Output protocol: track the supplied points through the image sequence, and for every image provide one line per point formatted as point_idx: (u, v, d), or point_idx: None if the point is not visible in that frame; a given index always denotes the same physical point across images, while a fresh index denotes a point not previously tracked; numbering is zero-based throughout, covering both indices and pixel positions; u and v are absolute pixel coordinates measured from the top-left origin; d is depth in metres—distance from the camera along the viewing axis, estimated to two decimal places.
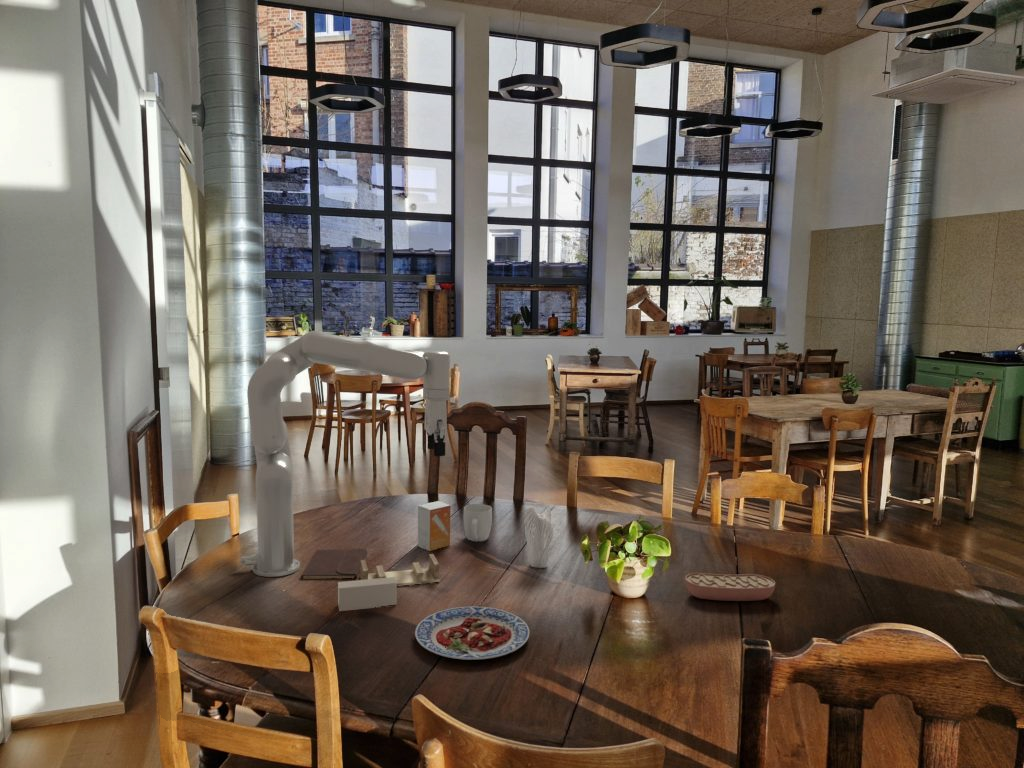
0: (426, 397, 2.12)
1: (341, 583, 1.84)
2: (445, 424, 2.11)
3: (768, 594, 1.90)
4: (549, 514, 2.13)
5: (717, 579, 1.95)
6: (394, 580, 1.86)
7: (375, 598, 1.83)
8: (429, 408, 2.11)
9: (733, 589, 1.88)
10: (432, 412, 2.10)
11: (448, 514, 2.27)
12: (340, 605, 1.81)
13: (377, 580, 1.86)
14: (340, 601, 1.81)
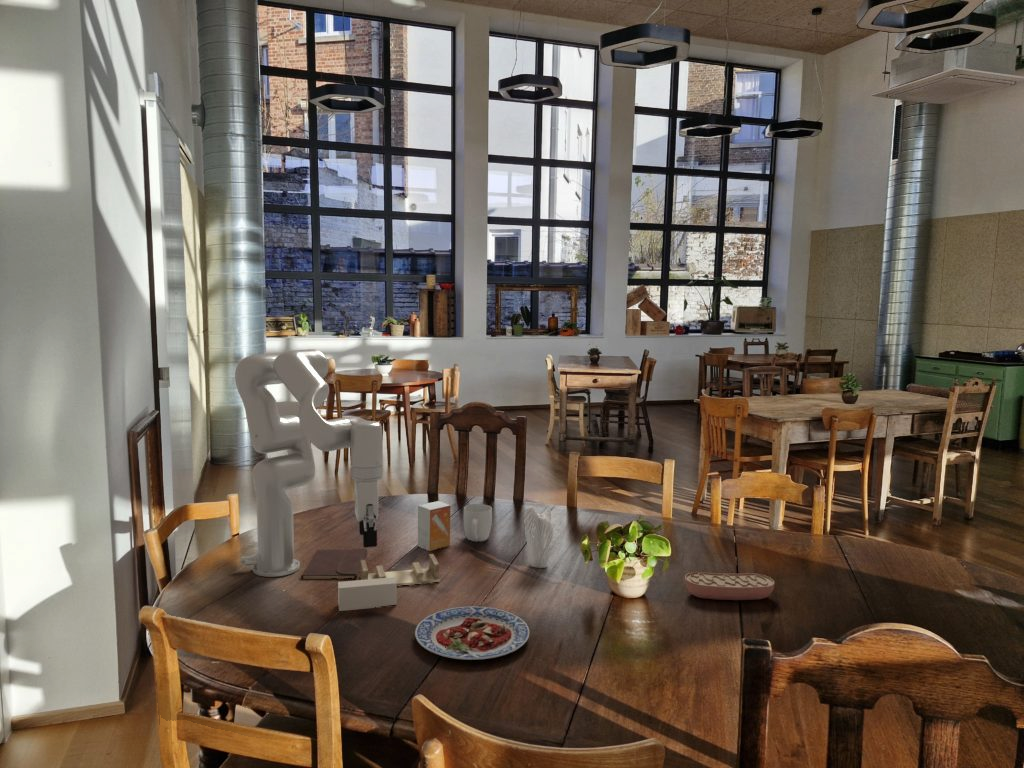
0: (354, 477, 1.78)
1: (341, 582, 1.84)
2: (376, 509, 1.78)
3: (767, 593, 1.90)
4: (549, 514, 2.13)
5: (716, 578, 1.95)
6: (394, 580, 1.86)
7: (375, 598, 1.83)
8: (357, 490, 1.78)
9: (732, 588, 1.89)
10: (360, 495, 1.76)
11: (448, 514, 2.27)
12: (340, 605, 1.81)
13: (377, 580, 1.86)
14: (340, 601, 1.81)
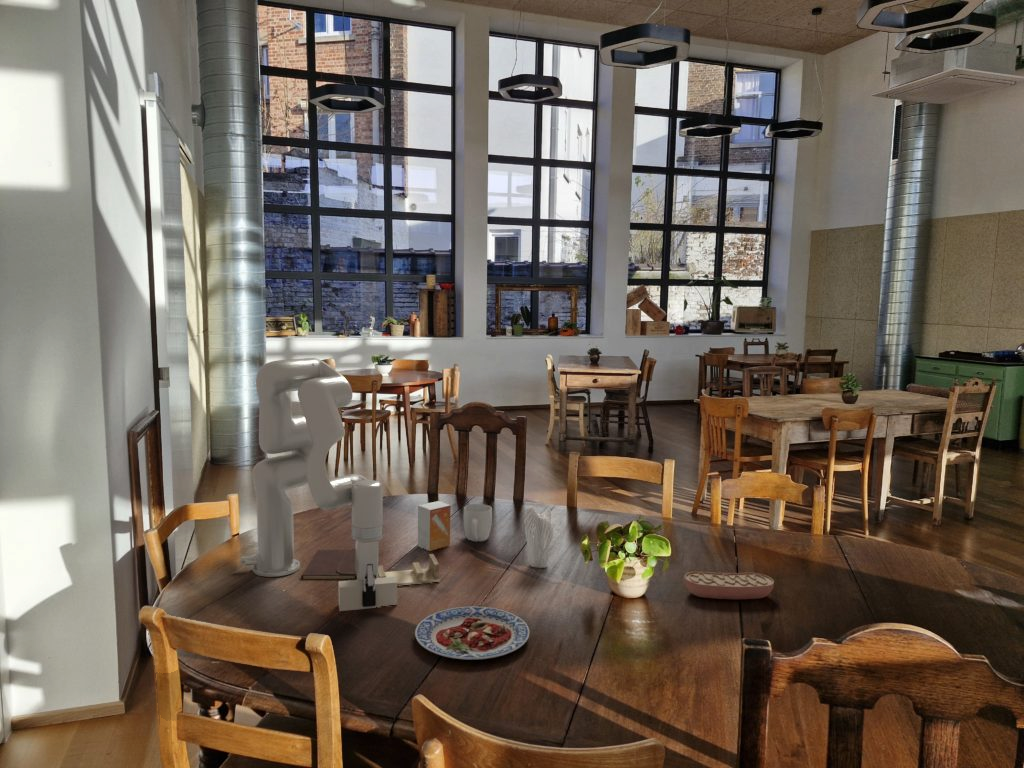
0: (354, 536, 1.80)
1: (342, 582, 1.84)
2: (376, 569, 1.80)
3: (767, 592, 1.91)
4: (549, 514, 2.13)
5: (716, 578, 1.95)
6: (394, 579, 1.86)
7: None
8: (357, 550, 1.79)
9: (732, 587, 1.89)
10: (360, 556, 1.78)
11: (448, 514, 2.27)
12: (340, 604, 1.81)
13: (378, 579, 1.86)
14: (340, 600, 1.81)
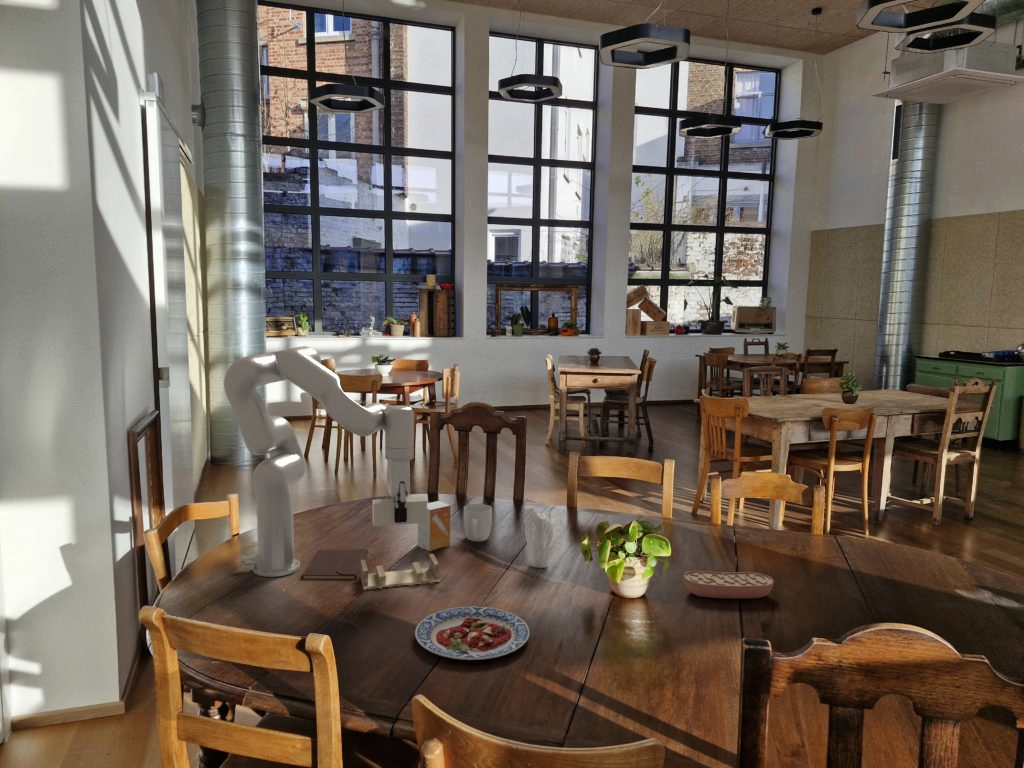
0: (387, 456, 1.94)
1: (375, 500, 1.98)
2: (408, 486, 1.94)
3: (766, 592, 1.91)
4: (549, 514, 2.13)
5: (716, 577, 1.96)
6: (424, 499, 2.00)
7: (407, 514, 1.98)
8: (391, 469, 1.94)
9: (732, 587, 1.89)
10: (394, 473, 1.92)
11: (448, 514, 2.27)
12: (375, 520, 1.95)
13: (408, 499, 2.00)
14: (375, 516, 1.95)
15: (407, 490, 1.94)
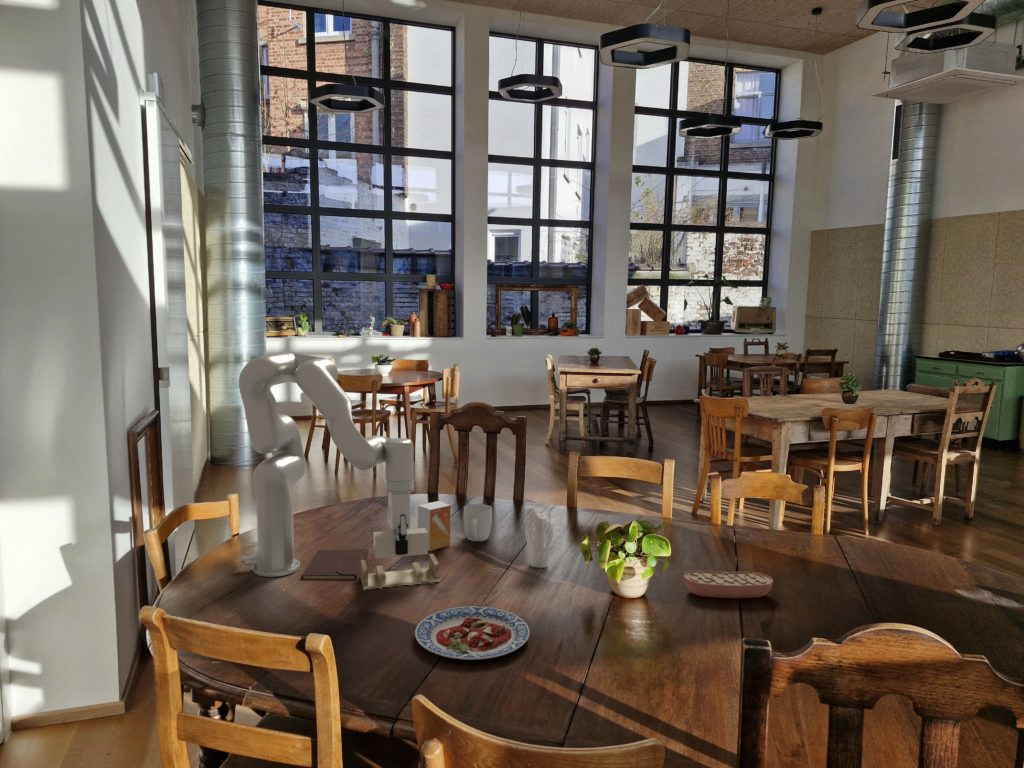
0: (388, 489, 1.95)
1: (376, 532, 1.99)
2: (409, 519, 1.95)
3: (766, 591, 1.92)
4: (549, 514, 2.13)
5: (715, 576, 1.96)
6: (425, 530, 2.01)
7: (408, 546, 1.99)
8: (391, 502, 1.95)
9: (731, 586, 1.90)
10: (394, 507, 1.94)
11: (448, 514, 2.27)
12: (376, 552, 1.96)
13: (409, 530, 2.01)
14: (376, 549, 1.96)
15: (408, 523, 1.95)
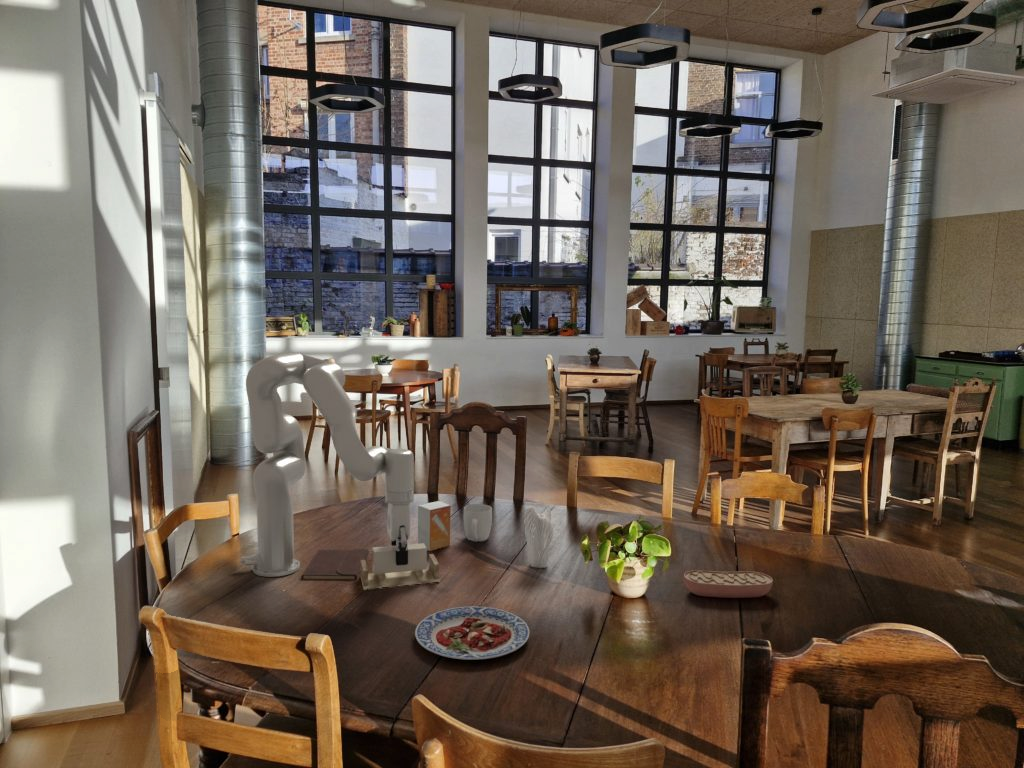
0: (388, 500, 1.96)
1: (375, 548, 2.00)
2: (408, 530, 1.95)
3: (766, 591, 1.92)
4: (549, 514, 2.13)
5: (715, 576, 1.96)
6: (424, 546, 2.02)
7: None
8: (391, 513, 1.95)
9: (731, 586, 1.90)
10: (394, 518, 1.94)
11: (448, 514, 2.27)
12: (375, 568, 1.97)
13: (408, 546, 2.02)
14: (375, 564, 1.97)
15: (407, 530, 1.95)
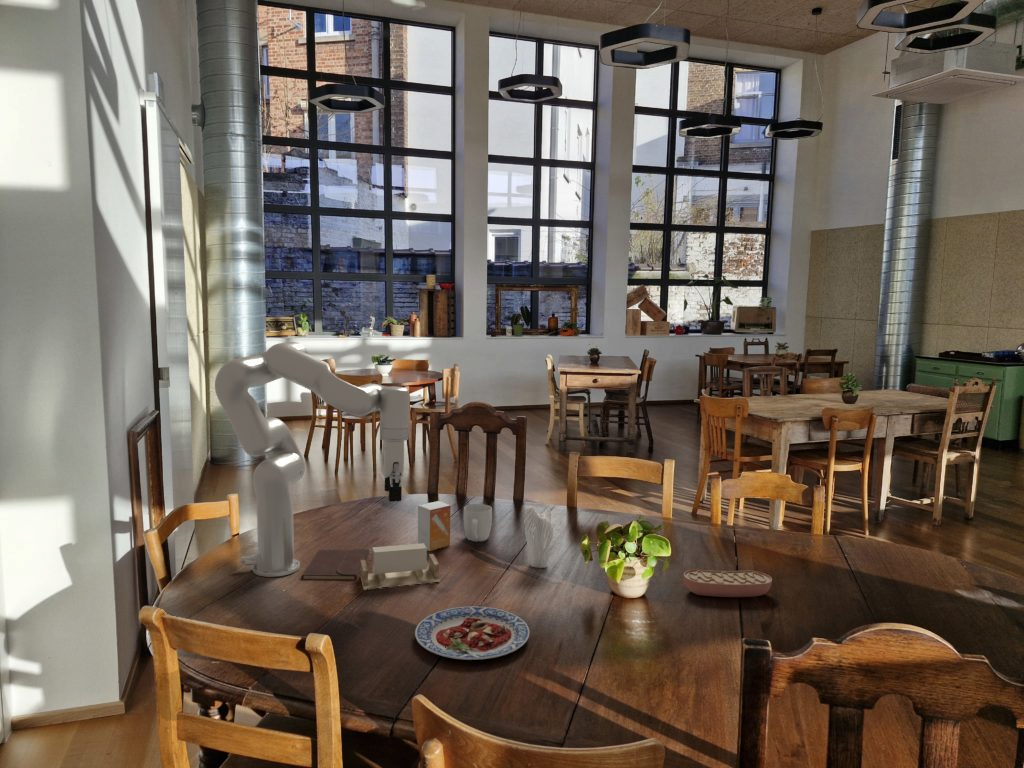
0: (382, 437, 1.95)
1: (375, 548, 2.00)
2: (402, 467, 1.94)
3: (765, 590, 1.92)
4: (549, 514, 2.13)
5: (715, 576, 1.97)
6: (424, 546, 2.02)
7: (407, 561, 1.99)
8: (385, 449, 1.94)
9: (731, 585, 1.90)
10: (388, 454, 1.93)
11: (448, 514, 2.27)
12: (375, 568, 1.97)
13: (408, 546, 2.02)
14: (375, 564, 1.97)
15: (401, 465, 1.94)
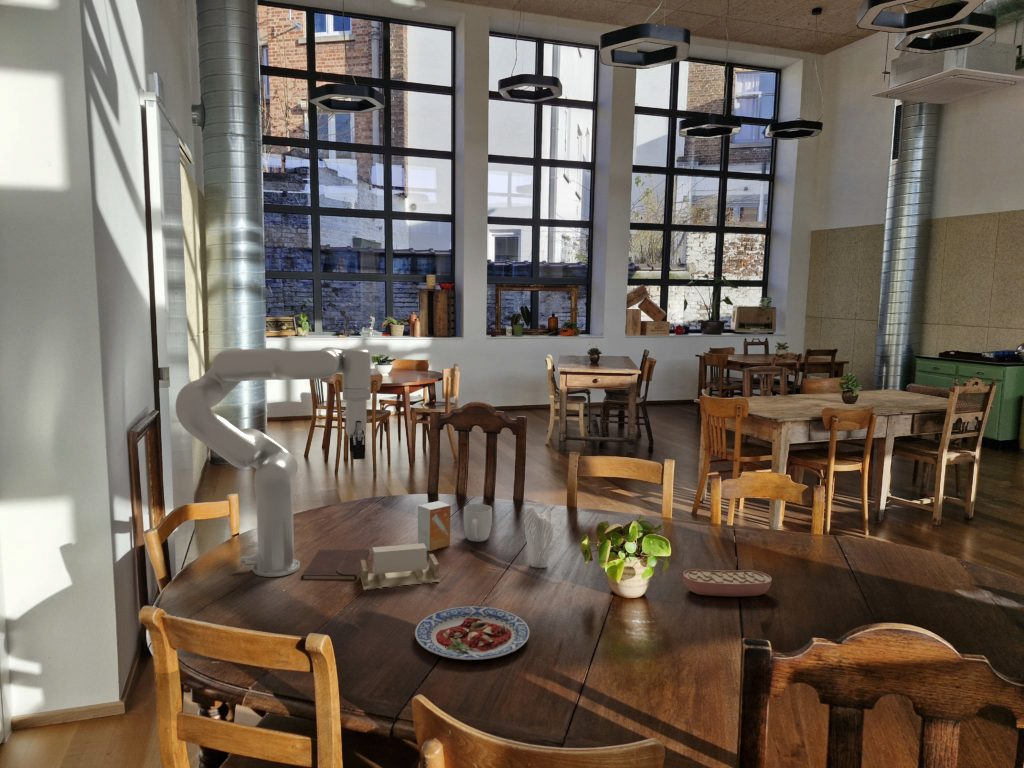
0: (345, 397, 2.01)
1: (375, 548, 2.00)
2: (364, 426, 2.00)
3: (765, 589, 1.93)
4: (549, 514, 2.13)
5: (714, 575, 1.97)
6: (424, 546, 2.02)
7: (407, 561, 1.99)
8: (347, 409, 2.00)
9: (730, 585, 1.91)
10: (350, 413, 1.99)
11: (448, 514, 2.27)
12: (375, 568, 1.97)
13: (408, 546, 2.02)
14: (375, 564, 1.97)
15: (363, 424, 2.00)
